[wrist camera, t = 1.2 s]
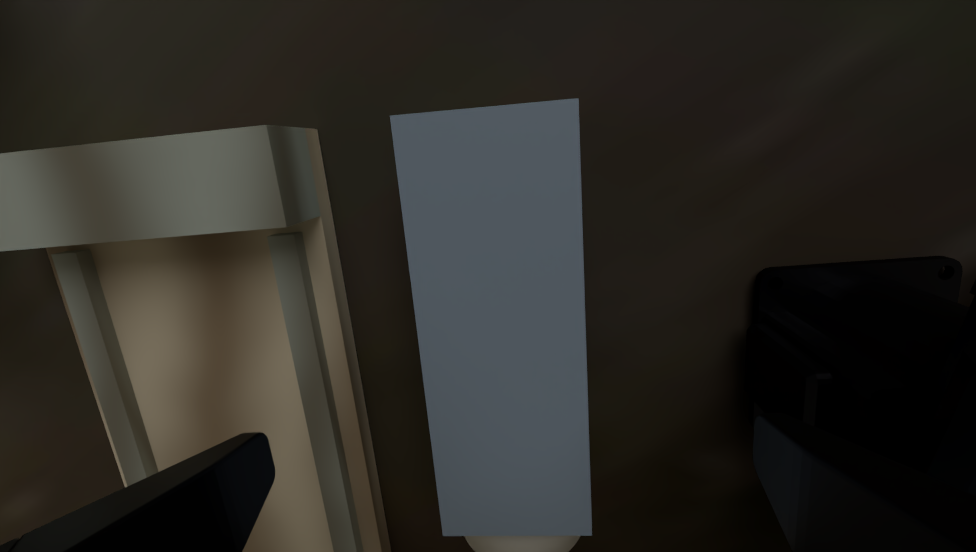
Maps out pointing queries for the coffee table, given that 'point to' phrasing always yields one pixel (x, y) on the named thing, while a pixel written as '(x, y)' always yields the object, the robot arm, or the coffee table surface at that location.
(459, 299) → the slate grey rectangular prism
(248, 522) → the robot arm
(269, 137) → the cradle
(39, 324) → the coffee table surface
